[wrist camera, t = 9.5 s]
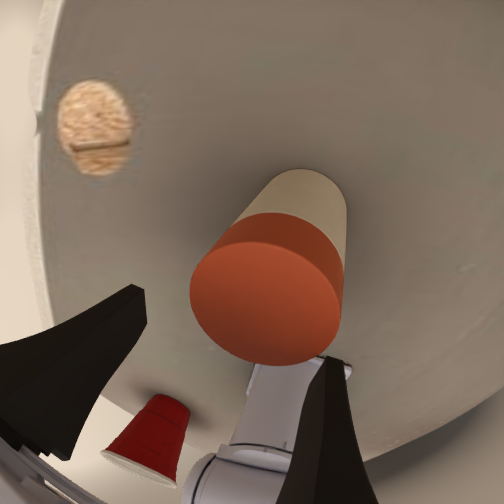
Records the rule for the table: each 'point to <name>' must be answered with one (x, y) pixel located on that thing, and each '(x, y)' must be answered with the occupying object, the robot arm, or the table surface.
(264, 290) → the container
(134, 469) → the plastic cup
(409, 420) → the table surface
